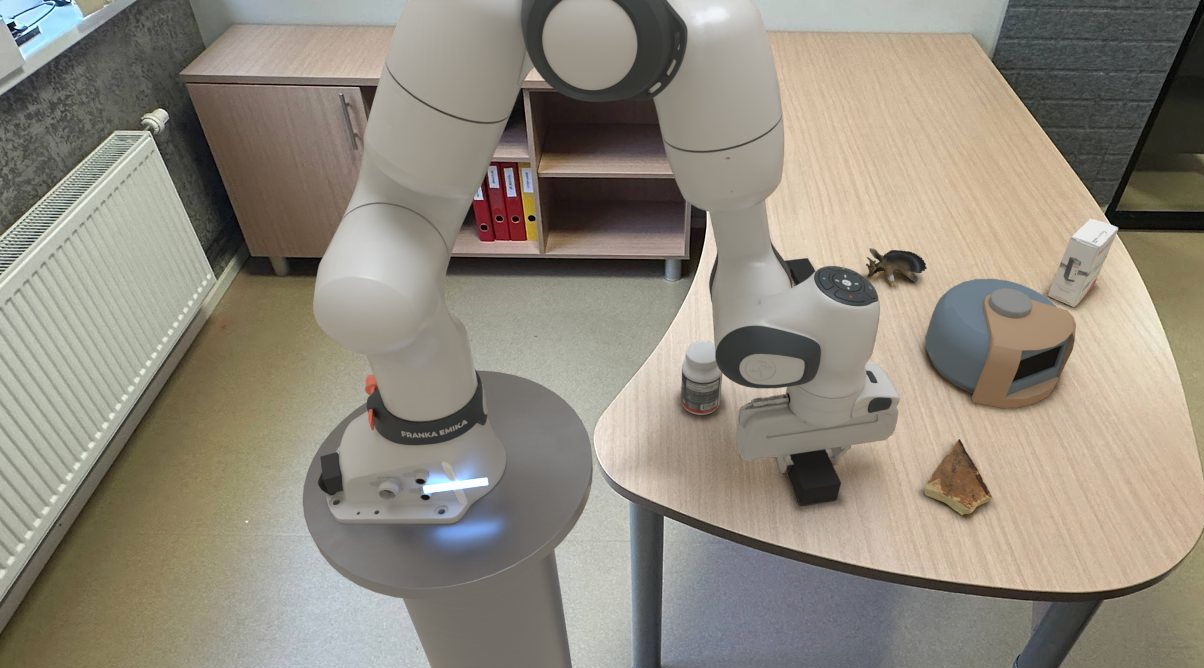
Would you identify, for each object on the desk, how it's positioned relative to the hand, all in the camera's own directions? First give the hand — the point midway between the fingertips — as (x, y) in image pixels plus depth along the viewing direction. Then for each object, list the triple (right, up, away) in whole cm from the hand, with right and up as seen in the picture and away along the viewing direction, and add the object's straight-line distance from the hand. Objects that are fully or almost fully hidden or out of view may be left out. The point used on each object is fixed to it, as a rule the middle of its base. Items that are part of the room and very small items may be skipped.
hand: (807, 465), depth 103 cm
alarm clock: (+31, +14, +18) cm, 39 cm away
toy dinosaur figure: (+20, +29, +33) cm, 49 cm away
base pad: (+1, +26, +30) cm, 40 cm away
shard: (+19, -2, +1) cm, 19 cm away
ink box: (+51, +27, +32) cm, 65 cm away
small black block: (0, -1, +1) cm, 2 cm away
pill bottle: (-14, +8, +11) cm, 19 cm away
